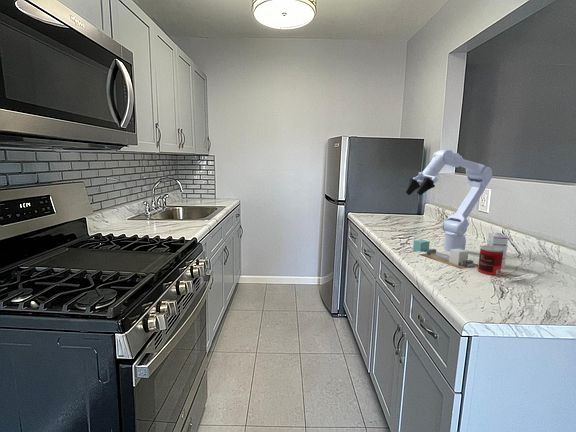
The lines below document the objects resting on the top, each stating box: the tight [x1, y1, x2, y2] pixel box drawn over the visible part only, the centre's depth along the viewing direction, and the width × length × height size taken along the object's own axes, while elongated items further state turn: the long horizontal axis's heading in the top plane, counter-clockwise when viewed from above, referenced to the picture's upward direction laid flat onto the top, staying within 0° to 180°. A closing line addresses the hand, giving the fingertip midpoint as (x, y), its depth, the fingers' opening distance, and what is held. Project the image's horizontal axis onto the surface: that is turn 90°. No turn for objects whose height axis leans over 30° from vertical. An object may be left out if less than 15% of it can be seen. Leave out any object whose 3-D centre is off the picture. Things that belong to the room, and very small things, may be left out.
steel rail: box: [425, 248, 474, 268], centre depth 149 cm, size 4×21×2 cm, turn 26°
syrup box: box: [487, 232, 509, 269], centre depth 142 cm, size 6×6×14 cm
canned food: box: [477, 244, 503, 277], centre depth 133 cm, size 8×8×11 cm
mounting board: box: [418, 251, 478, 270], centre depth 149 cm, size 12×22×1 cm, turn 26°
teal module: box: [412, 239, 431, 253], centre depth 165 cm, size 6×4×6 cm
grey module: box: [448, 248, 469, 265], centre depth 144 cm, size 6×4×6 cm
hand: (413, 193), depth 150 cm, fingers open, 7 cm apart
